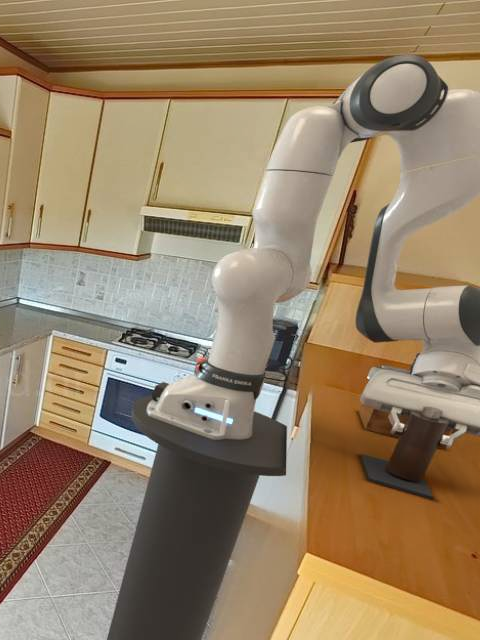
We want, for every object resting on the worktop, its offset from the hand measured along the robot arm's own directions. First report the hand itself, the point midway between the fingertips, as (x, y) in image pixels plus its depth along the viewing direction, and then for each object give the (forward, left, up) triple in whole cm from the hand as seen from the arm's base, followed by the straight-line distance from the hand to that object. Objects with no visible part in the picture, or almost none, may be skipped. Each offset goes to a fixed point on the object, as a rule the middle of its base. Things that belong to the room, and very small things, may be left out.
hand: (419, 440), depth 87 cm
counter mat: (-1, +1, -8) cm, 8 cm away
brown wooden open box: (+4, +33, -8) cm, 34 cm away
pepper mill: (0, +1, -7) cm, 7 cm away
